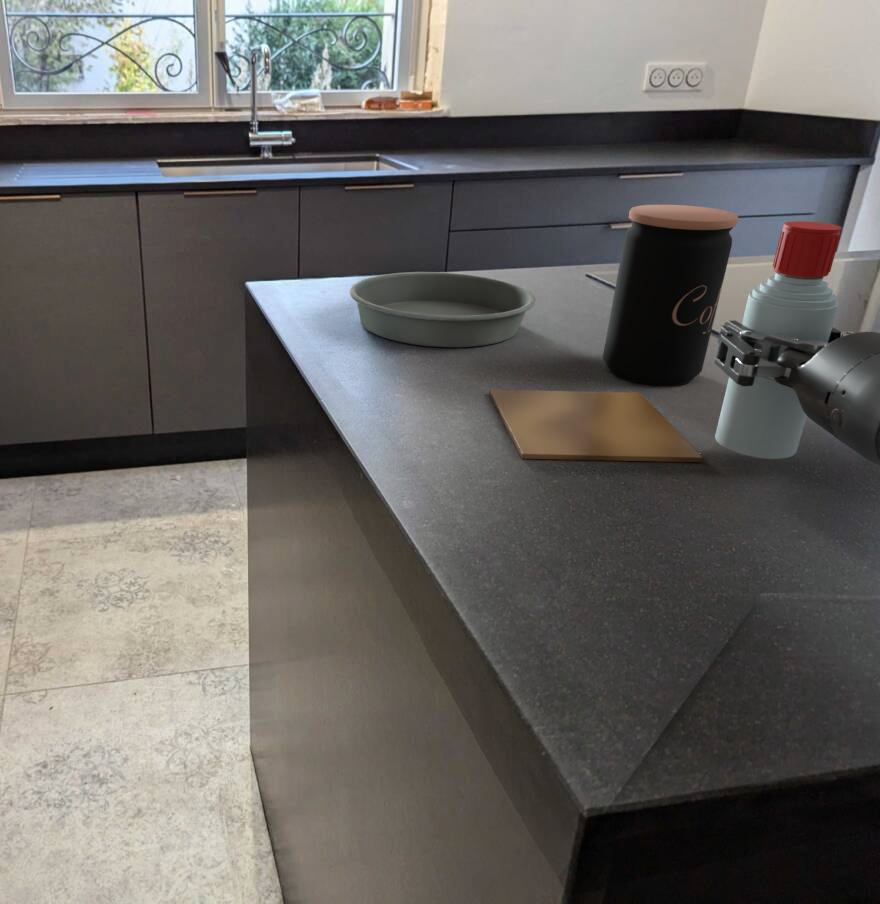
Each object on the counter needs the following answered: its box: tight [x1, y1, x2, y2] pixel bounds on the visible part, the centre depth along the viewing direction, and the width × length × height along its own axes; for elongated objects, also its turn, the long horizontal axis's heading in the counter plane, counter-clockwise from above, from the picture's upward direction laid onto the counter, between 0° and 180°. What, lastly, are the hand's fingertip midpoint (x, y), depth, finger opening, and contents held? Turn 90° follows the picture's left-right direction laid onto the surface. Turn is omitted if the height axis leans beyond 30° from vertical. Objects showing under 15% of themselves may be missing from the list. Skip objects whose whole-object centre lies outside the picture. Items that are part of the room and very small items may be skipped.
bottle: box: [714, 272, 840, 460], centre depth 69 cm, size 6×6×18 cm
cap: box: [772, 220, 842, 278], centre depth 66 cm, size 4×4×4 cm
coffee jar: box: [602, 204, 739, 387], centre depth 91 cm, size 11×11×18 cm
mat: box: [488, 389, 703, 463], centre depth 81 cm, size 16×16×1 cm
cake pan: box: [348, 271, 537, 348], centre depth 111 cm, size 25×25×4 cm
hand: (768, 332), depth 71 cm, fingers closed on bottle, 6 cm apart
